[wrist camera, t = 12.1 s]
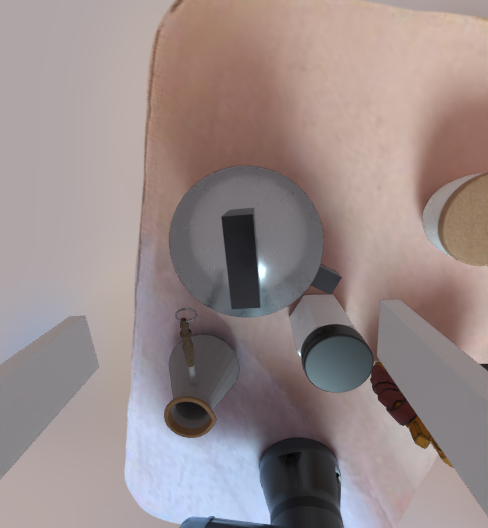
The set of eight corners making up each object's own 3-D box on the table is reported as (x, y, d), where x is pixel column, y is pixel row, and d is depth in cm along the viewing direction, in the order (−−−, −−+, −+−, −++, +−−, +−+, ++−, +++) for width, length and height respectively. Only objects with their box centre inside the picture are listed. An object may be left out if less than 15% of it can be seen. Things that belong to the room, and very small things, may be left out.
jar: (309, 282, 41) (329, 319, 30) (354, 305, 42) (390, 351, 30) (280, 327, 44) (288, 378, 32) (323, 348, 44) (346, 405, 33)
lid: (319, 304, 31) (340, 344, 24) (186, 312, 33) (163, 352, 25) (318, 159, 27) (342, 149, 19) (163, 174, 28) (127, 171, 20)
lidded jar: (407, 256, 39) (451, 277, 30) (406, 181, 36) (455, 180, 27) (485, 244, 38) (554, 262, 29) (491, 166, 35) (570, 160, 26)
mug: (437, 406, 47) (516, 505, 32) (346, 383, 46) (386, 473, 32) (467, 355, 44) (570, 440, 29) (371, 330, 43) (427, 403, 29)
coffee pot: (238, 386, 48) (230, 473, 33) (174, 380, 48) (139, 465, 34) (246, 273, 41) (239, 320, 27) (172, 267, 42) (128, 311, 27)
